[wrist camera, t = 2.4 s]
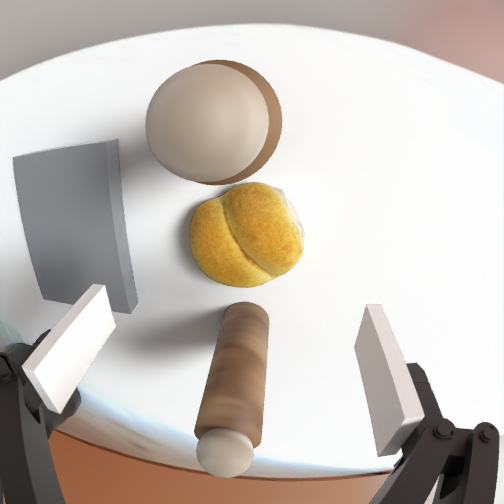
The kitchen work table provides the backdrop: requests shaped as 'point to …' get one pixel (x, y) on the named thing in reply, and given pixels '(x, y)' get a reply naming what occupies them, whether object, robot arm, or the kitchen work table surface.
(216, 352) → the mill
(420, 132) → the kitchen work table surface
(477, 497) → the robot arm
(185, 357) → the kitchen work table surface
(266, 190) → the bread roll
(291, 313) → the kitchen work table surface
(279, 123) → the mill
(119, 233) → the slate board
